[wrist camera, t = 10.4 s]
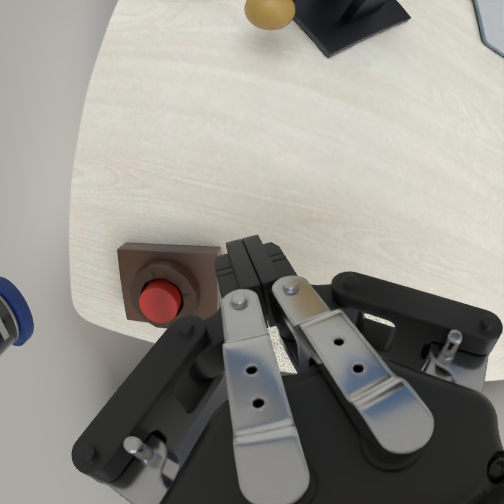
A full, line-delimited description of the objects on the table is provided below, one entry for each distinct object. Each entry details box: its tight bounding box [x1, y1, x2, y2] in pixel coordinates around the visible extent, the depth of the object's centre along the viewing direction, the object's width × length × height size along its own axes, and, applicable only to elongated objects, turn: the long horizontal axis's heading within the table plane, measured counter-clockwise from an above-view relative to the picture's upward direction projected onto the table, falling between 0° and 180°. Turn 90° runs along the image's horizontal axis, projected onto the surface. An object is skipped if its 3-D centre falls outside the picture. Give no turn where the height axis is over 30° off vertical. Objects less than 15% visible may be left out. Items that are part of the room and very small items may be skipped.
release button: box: [139, 280, 181, 323], centre depth 25 cm, size 4×4×2 cm
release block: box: [117, 243, 220, 328], centre depth 27 cm, size 10×8×4 cm
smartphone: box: [473, 0, 504, 57], centre depth 16 cm, size 8×1×15 cm
